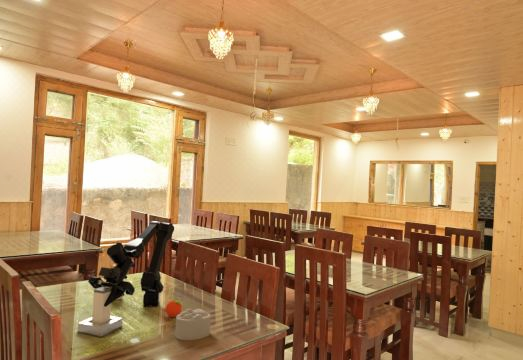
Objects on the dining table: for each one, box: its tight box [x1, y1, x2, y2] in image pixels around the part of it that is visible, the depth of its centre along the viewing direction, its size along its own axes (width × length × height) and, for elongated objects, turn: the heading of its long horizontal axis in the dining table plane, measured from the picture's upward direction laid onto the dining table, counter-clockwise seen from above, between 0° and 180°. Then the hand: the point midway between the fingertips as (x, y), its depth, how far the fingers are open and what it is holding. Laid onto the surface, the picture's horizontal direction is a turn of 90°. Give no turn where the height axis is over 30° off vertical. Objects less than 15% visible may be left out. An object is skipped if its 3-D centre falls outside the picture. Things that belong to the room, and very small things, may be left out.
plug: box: [91, 287, 112, 325], centre depth 136 cm, size 4×4×12 cm
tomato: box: [165, 299, 184, 318], centre depth 153 cm, size 8×7×7 cm
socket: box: [77, 315, 123, 338], centre depth 136 cm, size 11×11×4 cm
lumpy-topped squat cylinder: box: [174, 307, 212, 341], centre depth 136 cm, size 10×13×9 cm
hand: (99, 305), depth 135 cm, fingers closed on plug, 4 cm apart
